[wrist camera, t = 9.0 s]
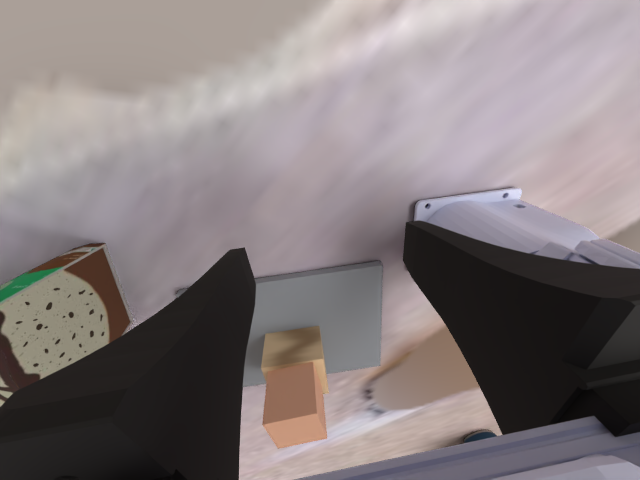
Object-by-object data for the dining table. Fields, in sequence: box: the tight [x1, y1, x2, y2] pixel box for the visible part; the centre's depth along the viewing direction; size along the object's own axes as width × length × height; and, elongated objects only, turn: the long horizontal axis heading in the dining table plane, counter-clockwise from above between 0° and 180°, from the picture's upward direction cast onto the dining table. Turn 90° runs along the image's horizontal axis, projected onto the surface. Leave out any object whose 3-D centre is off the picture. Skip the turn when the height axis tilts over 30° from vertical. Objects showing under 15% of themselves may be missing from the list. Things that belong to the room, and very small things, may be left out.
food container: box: [0, 243, 134, 407], centre depth 18 cm, size 12×6×10 cm, turn 174°
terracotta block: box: [263, 362, 327, 449], centre depth 22 cm, size 4×4×4 cm
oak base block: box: [261, 326, 329, 394], centre depth 26 cm, size 6×6×4 cm
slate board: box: [176, 261, 383, 387], centre depth 27 cm, size 20×16×1 cm
